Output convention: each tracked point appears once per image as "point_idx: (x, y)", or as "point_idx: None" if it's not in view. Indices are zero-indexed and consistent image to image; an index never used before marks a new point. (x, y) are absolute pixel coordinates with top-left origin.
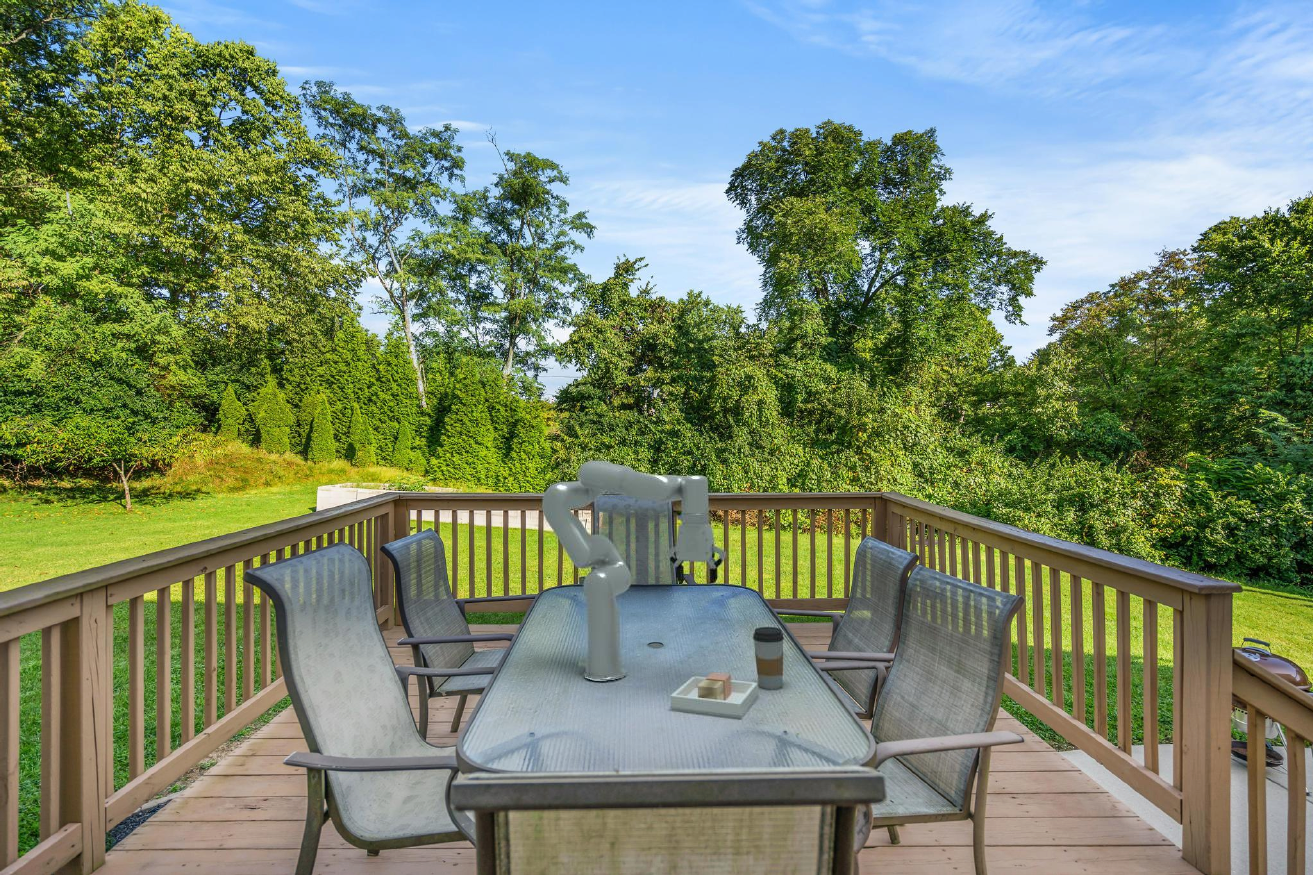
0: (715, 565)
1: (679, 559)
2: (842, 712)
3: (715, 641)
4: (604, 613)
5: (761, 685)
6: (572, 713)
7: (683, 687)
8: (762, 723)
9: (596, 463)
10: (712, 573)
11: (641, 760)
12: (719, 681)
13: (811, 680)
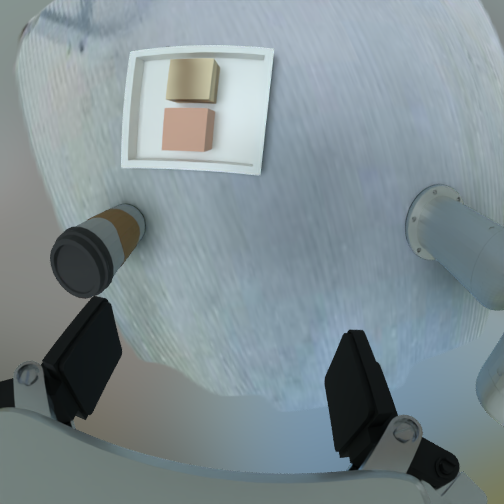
0: (15, 377)
1: (393, 475)
2: (32, 146)
3: (279, 402)
4: None
5: (135, 208)
6: (425, 41)
7: (261, 99)
8: (109, 57)
9: None
10: (63, 341)
11: None
12: (173, 97)
13: None
